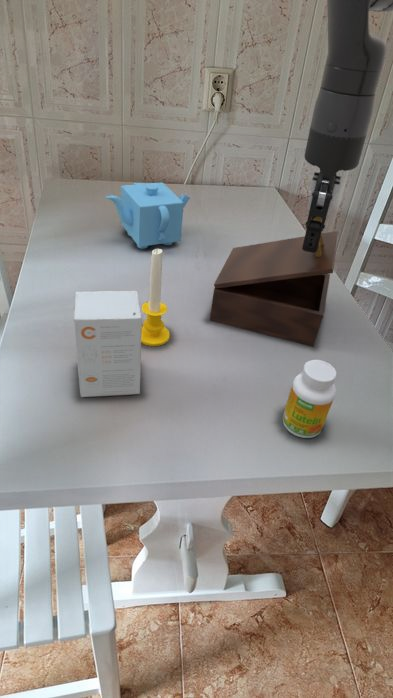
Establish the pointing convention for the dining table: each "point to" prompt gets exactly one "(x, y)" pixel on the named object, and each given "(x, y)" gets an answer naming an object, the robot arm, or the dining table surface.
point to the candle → (154, 306)
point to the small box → (108, 342)
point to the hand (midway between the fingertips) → (311, 242)
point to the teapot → (150, 213)
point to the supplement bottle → (310, 399)
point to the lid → (278, 261)
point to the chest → (275, 307)
